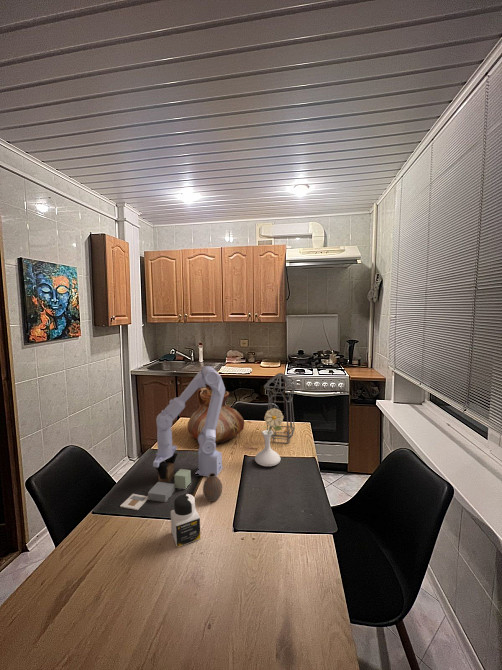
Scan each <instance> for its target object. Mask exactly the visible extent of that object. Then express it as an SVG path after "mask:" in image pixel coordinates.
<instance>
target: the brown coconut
mask: <svg viewBox="0 0 502 670" xmlns="http://www.w3.org/2000/svg"><path fill="white" fill-rule="evenodd" d="M222 492H223V484H222V481H221V479H220V478H219V477H218V476H216V474H215V473H211V474H209V476H207V478H206V479H205V480H204V481H203V486H202V494H203V496H204V498H205V499H206V500H207V501H209V502H216V501H217V500H218V499H220V497H221V495H222Z"/></svg>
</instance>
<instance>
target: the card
mask: <svg viewBox="0 0 502 670" xmlns="http://www.w3.org/2000/svg"><path fill="white" fill-rule="evenodd" d="M147 501H149V500H148V495H141V494H136V493H132V494H131V495H130V496H128V498H127V499H126V500H124V502H123V503H121V504H120V506H119V507H120V508H124V509H129V510H130V509H131V510H135V511H138V510H140V508H141V507H142V506H143V505H145V503H146V502H147Z"/></svg>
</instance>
